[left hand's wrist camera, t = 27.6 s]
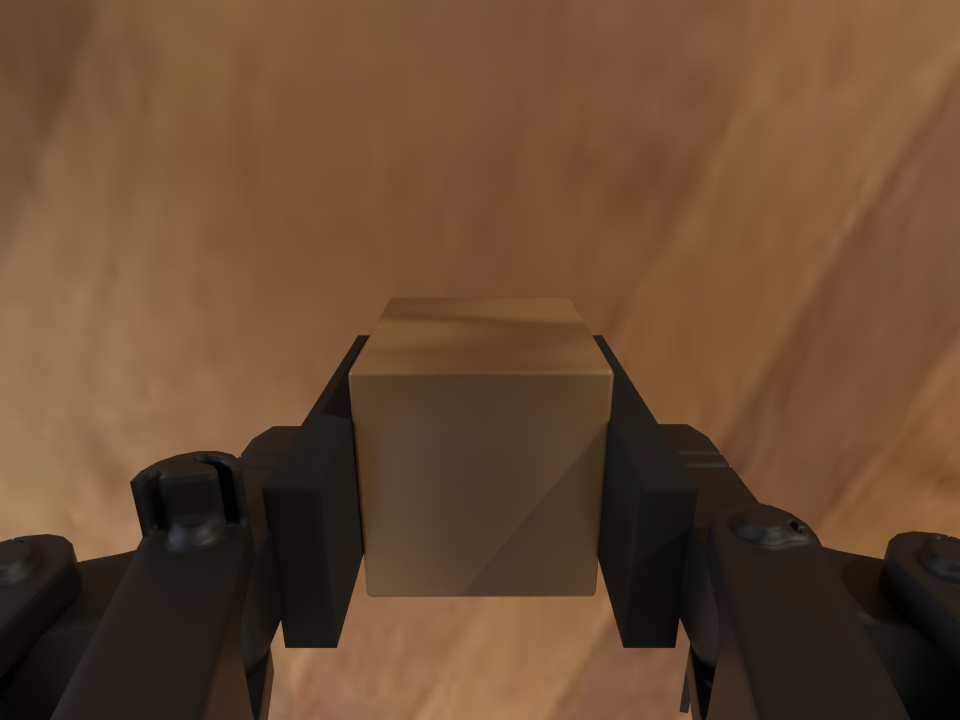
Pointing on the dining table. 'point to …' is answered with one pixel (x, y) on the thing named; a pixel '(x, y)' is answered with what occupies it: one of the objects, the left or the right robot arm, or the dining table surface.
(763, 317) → the dining table surface
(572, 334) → the block
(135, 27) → the dining table surface
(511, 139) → the dining table surface
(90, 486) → the dining table surface
